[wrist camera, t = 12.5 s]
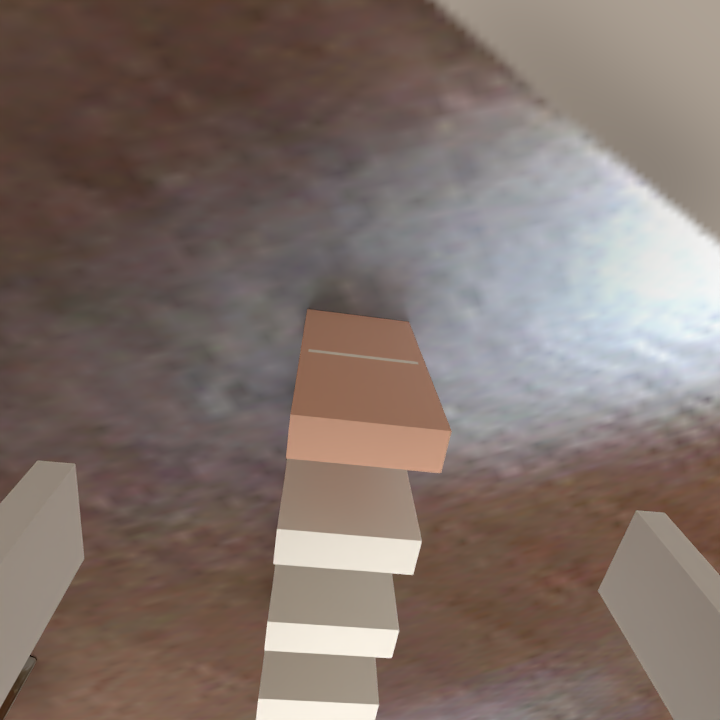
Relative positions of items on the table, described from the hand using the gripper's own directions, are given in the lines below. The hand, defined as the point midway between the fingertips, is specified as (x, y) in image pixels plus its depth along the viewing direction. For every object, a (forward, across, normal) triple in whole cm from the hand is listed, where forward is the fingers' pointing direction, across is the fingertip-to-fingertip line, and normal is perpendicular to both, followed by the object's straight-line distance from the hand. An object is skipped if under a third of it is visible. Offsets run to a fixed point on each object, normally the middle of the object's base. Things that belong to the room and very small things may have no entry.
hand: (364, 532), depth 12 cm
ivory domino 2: (+14, +1, -9) cm, 17 cm away
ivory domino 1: (+14, +1, -5) cm, 15 cm away
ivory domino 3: (+14, +1, -14) cm, 20 cm away
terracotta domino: (+14, +1, 0) cm, 14 cm away
